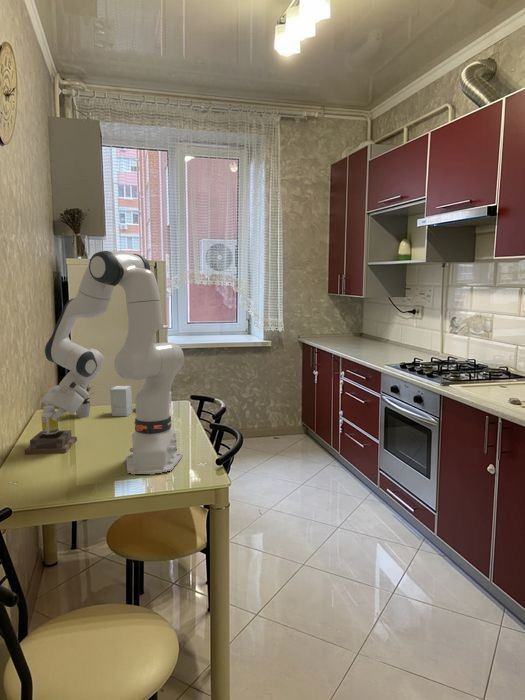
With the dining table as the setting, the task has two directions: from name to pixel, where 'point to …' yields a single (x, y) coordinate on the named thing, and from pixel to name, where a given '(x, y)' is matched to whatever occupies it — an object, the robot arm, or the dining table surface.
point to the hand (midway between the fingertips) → (48, 418)
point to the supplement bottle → (49, 420)
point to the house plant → (84, 407)
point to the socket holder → (51, 443)
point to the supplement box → (121, 400)
